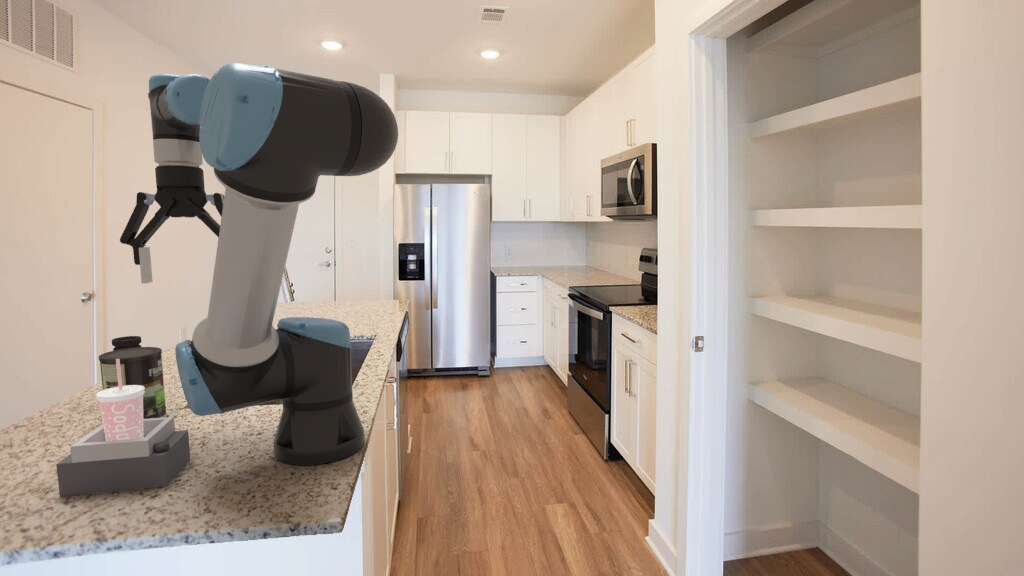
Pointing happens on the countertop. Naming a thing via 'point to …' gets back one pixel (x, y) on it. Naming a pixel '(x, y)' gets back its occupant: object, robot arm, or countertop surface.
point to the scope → (126, 342)
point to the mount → (124, 460)
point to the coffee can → (137, 375)
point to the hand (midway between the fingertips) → (188, 282)
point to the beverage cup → (122, 410)
